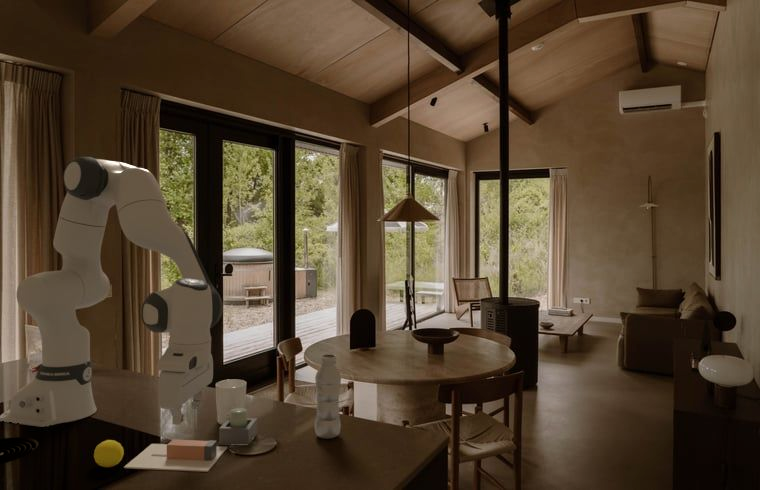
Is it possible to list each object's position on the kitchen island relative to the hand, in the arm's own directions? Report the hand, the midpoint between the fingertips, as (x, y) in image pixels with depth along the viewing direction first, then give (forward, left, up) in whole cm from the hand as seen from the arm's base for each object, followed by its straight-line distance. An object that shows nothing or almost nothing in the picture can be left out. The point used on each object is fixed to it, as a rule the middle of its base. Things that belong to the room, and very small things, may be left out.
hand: (187, 415), depth 116 cm
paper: (-2, 0, -10) cm, 10 cm away
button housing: (+8, +11, -10) cm, 17 cm away
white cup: (+2, +23, -10) cm, 25 cm away
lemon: (-15, -5, -10) cm, 19 cm away
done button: (+8, +11, -8) cm, 16 cm away
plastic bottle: (+29, +15, -10) cm, 34 cm away
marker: (+1, 0, -9) cm, 9 cm away
